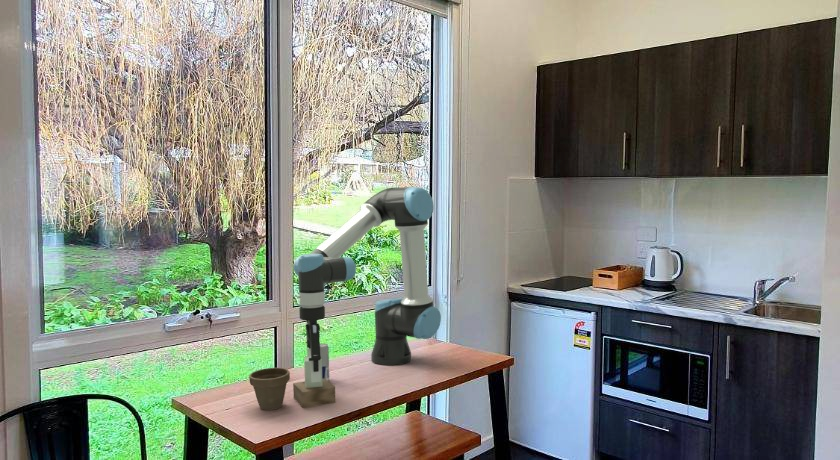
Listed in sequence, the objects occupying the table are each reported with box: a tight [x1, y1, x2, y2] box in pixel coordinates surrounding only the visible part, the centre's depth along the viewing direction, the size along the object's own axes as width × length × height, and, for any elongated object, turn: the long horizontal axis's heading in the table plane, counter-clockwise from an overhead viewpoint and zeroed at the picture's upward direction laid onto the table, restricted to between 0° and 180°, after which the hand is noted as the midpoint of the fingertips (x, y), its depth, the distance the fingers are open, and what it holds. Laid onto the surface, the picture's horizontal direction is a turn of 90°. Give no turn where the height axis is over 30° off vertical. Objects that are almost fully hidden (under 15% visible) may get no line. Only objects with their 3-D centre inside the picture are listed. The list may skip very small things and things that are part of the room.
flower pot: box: [248, 367, 291, 411], centre depth 174 cm, size 12×11×10 cm
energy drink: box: [316, 343, 330, 381], centre depth 199 cm, size 5×5×12 cm
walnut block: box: [292, 378, 336, 409], centre depth 180 cm, size 10×10×5 cm
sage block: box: [303, 356, 323, 388], centre depth 180 cm, size 5×5×8 cm
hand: (313, 375), depth 180 cm, fingers open, 13 cm apart
